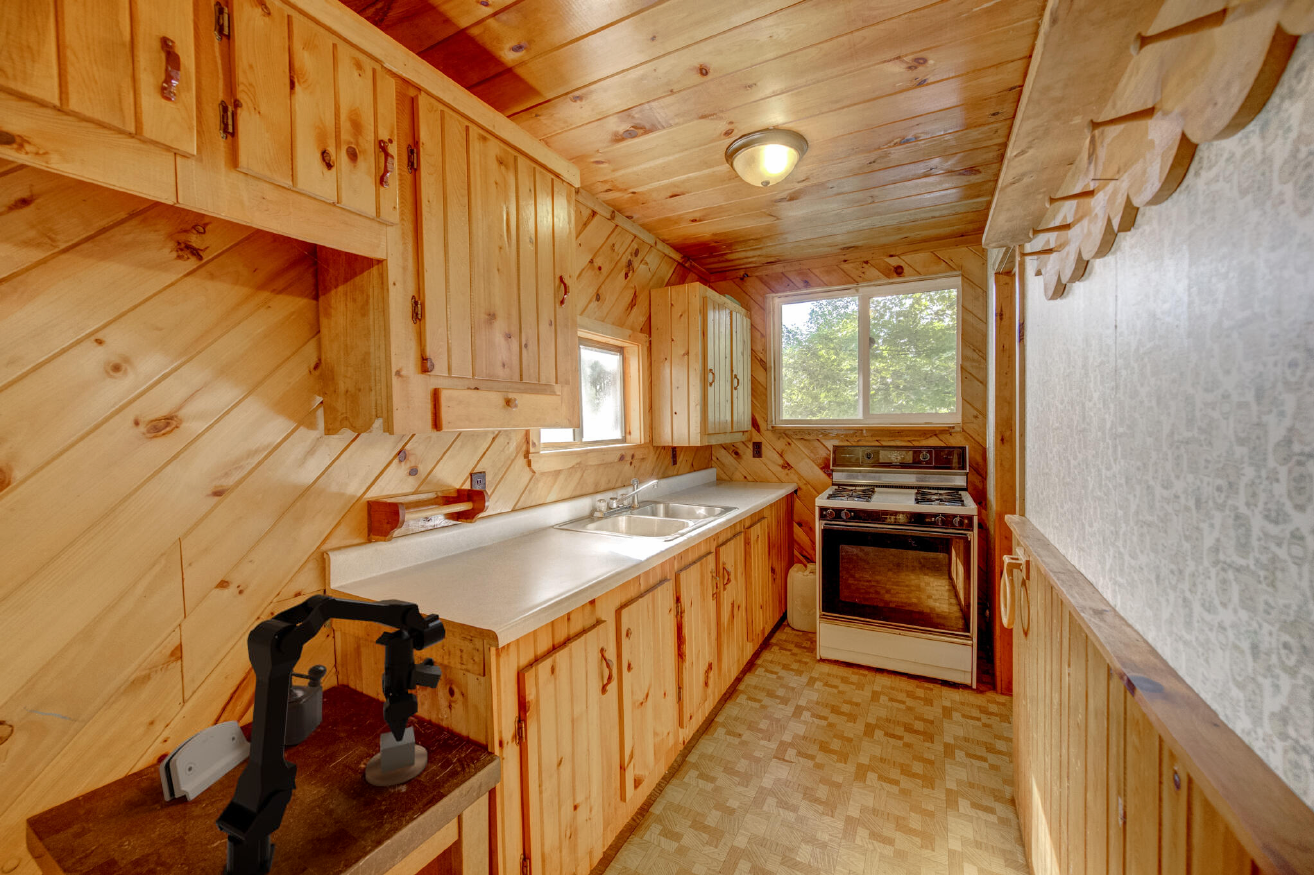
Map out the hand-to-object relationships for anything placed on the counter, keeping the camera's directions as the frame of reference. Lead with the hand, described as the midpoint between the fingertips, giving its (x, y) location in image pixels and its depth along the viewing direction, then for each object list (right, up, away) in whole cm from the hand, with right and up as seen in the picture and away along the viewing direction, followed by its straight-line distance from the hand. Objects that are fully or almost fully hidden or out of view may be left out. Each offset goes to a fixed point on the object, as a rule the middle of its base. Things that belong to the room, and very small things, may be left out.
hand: (398, 730), depth 112 cm
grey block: (0, -7, 0) cm, 7 cm away
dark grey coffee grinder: (-30, -8, +12) cm, 33 cm away
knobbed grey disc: (0, -8, 0) cm, 8 cm away
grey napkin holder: (-39, -8, -3) cm, 40 cm away
